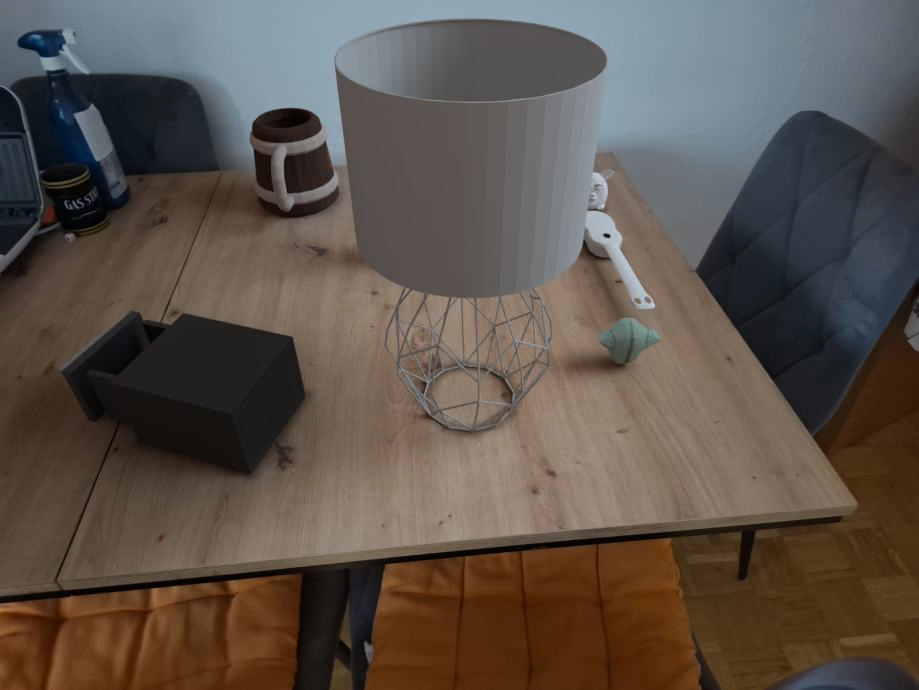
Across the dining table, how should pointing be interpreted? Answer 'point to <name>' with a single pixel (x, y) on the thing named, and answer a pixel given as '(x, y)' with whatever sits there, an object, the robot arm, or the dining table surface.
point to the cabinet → (212, 391)
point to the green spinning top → (627, 340)
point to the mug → (292, 163)
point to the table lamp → (470, 166)
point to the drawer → (108, 364)
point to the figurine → (599, 189)
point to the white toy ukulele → (613, 254)
